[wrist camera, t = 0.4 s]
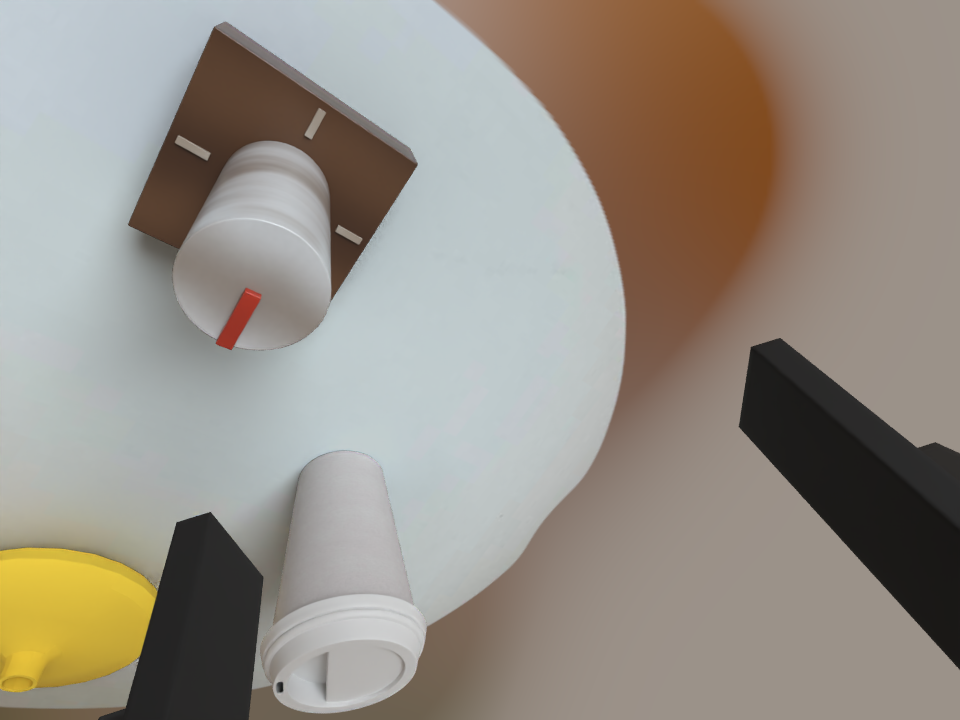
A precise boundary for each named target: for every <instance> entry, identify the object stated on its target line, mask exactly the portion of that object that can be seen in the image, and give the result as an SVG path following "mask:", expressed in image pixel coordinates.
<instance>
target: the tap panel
mask: <svg viewBox="0 0 960 720" xmlns="http://www.w3.org/2000/svg"><path fill="white" fill-rule="evenodd" d="M259 141H277V142H282V143H286V144H289V145H291V146H294V147H296V148H297V149H299V150H301V151H303V152H304V153H305V154H307V155H308V156H309V157H310V158H311V159H313V161H314V162H315V163H316V164H317V165H318V166H319V168H320V169H321V171H322V172H323V174H324V176H325V178H326V181H327V183H328V187H329V192H330V232H331V299H330V302H331V300H332V299H333V297H334V295H335V294H336V292H337V291H338V289H339V288H340V286H341V284H342V283H343V281H344V280H345V278H346V277H347V275H348V273H349V272H350V270H351V269H352V267H353V266H354V264H355V262H356V261H357V259H358V258H359V256H360V255H361V253H362V252H363V250H364V248H365V247H366V245H367V244H368V242H369V241H370V239H371V237H372V236H373V234H374V233H375V231H376V230H377V228H378V226H379V225H380V223H381V222H382V220H383V219H384V217H385V215H386V214H387V212H388V211H389V209H390V208H391V206H392V204H393V203H394V201H395V200H396V198H397V197H398V195H399V194H400V192H401V190H402V189H403V187H404V186H405V184H406V183H407V181H408V179H409V178H410V176H411V175H412V173H413V172H414V170H415V168H416V167H417V165H418V163H417V161H416V159H415V157H414V155H413V153H412V151H411V149H410V148H409V147H407V146H406V145H404V144H403V143H401V142H400V141H398V140H397V139H396V138H394V137H393V136H391V135H390V134H388V133H387V132H385V131H384V130H383V129H381V128H380V127H378V126H377V125H375V124H374V123H372V122H371V121H369V120H368V119H367V118H365V117H364V116H362V115H361V114H359V113H358V112H356V111H355V110H354V109H352V108H351V107H349V106H348V105H346V104H345V103H343V102H342V101H340V100H339V99H338V98H336V97H335V96H333V95H332V94H330V93H329V92H327V91H326V90H325V89H323V88H322V87H320V86H319V85H317V84H316V83H314V82H313V81H311V80H310V79H309V78H307V77H306V76H304V75H303V74H301V73H300V72H298V71H297V70H296V69H294V68H293V67H291V66H290V65H288V64H287V63H285V62H284V61H282V60H281V59H280V58H278V57H277V56H275V55H274V54H272V53H271V52H269V51H268V50H267V49H265V48H264V47H262V46H261V45H259V44H258V43H256V42H255V41H253V40H252V39H251V38H249V37H248V36H246V35H245V34H243V33H242V32H240V31H239V30H238V29H236V28H235V27H233V26H232V25H230V24H229V23H227V22H223V23H221V24H219V25H217V26H215V27H214V28H213V30H212V33H211V35H210V37H209V40H208V42H207V44H206V46H205V49H204V51H203V53H202V56H201V58H200V60H199V62H198V65H197V67H196V69H195V72H194V74H193V76H192V79H191V81H190V83H189V85H188V88H187V90H186V92H185V95H184V97H183V99H182V101H181V104H180V106H179V108H178V111H177V113H176V115H175V118H174V120H173V122H172V124H171V127H170V129H169V131H168V134H167V136H166V138H165V140H164V143H163V145H162V147H161V150H160V152H159V154H158V157H157V159H156V161H155V163H154V166H153V168H152V170H151V173H150V175H149V177H148V179H147V182H146V184H145V186H144V189H143V191H142V193H141V196H140V198H139V200H138V202H137V205H136V207H135V209H134V212H133V214H132V216H131V218H130V221H129V223H128V225H129V226H130V227H133V228H135V229H137V230H139V231H141V232H143V233H146V234H148V235H150V236H152V237H154V238H156V239H159V240H161V241H163V242H165V243H167V244H169V245H171V246H174V247H176V248H178V249H180V247H181V246H182V244H183V242H184V240H185V238H186V236H187V234H188V233H189V231H190V229H191V227H192V225H193V223H194V221H195V220H196V218H197V216H198V214H199V212H200V210H201V208H202V207H203V205H204V203H205V201H206V199H207V197H208V196H209V194H210V192H211V190H212V188H213V186H214V184H215V183H216V181H217V179H218V177H219V175H220V173H221V171H222V170H223V168H224V166H225V164H226V162H227V161H228V159H229V158H230V157H231V156H232V155H233V154H234V153H235V152H236V151H237V150H239V149H240V148H242V147H244V146H246V145H248V144H251V143H254V142H259Z"/></svg>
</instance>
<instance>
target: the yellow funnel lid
mask: <svg viewBox="0 0 960 720" xmlns="http://www.w3.org/2000/svg"><path fill="white" fill-rule="evenodd" d="M156 596H157V590H156V588H155V587H154V586H153V585H152V584H151V583H150V582H149V581H148V580H147V579H146V578H145V577H144V576H143V575H141V574H140V573H138V572H136V571H134V570H132V569H131V568H129V567H127V566H125V565H124V564H122V563H119V562H116V561H113V560H110V559H107V558H104V557H101V556H98V555H95V554H91V553H85V552H79V551H73V550H67V549H58V548H20V549H11V550H2V551H0V689H2V690H5V691H9V692H23V691H28V690H31V689H33V688H41V687H58V686H64V685H70V684H76V683H82V682H86V681H90V680H93V679H96V678H99V677H103V676H106V675H109V674H111V673H113V672H115V671H117V670H119V669H121V668H123V667H125V666H127V665H129V664H130V663H132V662H133V661H134V660H135V659H137V658H138V657H139V656H140V654H141V651H142V647H143V643H144V640H145V636H146V632H147V629H148V625H149V621H150V618H151V614H152V610H153V607H154V603H155V599H156Z"/></svg>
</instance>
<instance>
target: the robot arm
mask: <svg viewBox="0 0 960 720" xmlns="http://www.w3.org/2000/svg"><path fill="white" fill-rule="evenodd" d="M739 427H740V429H741V430H742V431H743V432H744V433H745V434H746V435H747V436H748V437H749V438H750V440H751V441H752V442H753V443H754V444H755V445H756V446H757V447H758V448H759V450H761V452H762V453H763V454H764V455H765V456H766V457H767V458H768V459H769V460H770V462H771V463H772V464H773V465H774V466H775V467H776V468H777V469H778V470H779V472H781V474H782V475H783V476H784V477H785V478H786V479H787V480H788V481H789V483H790V484H791V485H792V486H793V487H794V488H795V489H796V490H797V491H798V492H799V494H800V495H801V496H802V497H803V498H804V499H805V500H806V501H807V502H808V503H809V504H810V506H811V507H812V508H813V509H814V510H815V511H816V512H817V513H818V514H819V515H820V517H821V518H822V519H823V520H824V521H825V522H826V523H827V524H828V525H829V526H830V527H831V529H832V530H833V531H834V532H835V533H836V534H837V535H838V536H839V537H840V538H841V540H842V541H843V542H844V543H845V544H846V545H847V546H848V547H849V548H850V550H851V551H852V552H853V553H854V554H855V555H856V556H857V557H858V558H859V559H860V561H861V562H862V563H863V564H864V565H865V566H866V567H867V568H868V569H869V570H870V572H871V573H872V574H873V575H874V576H875V577H876V578H877V579H878V580H879V581H880V582H881V584H882V585H883V586H884V587H885V588H886V589H887V590H888V591H889V592H890V593H891V594H892V596H893V597H894V598H895V599H896V600H897V601H898V602H899V603H900V604H901V605H902V607H903V608H904V609H905V610H906V611H907V612H908V613H909V614H910V615H911V617H912V618H913V619H914V620H915V621H916V622H917V623H918V624H919V625H920V626H921V627H922V629H923V630H924V631H925V632H926V633H927V634H928V635H929V636H930V637H931V639H932V640H933V641H934V642H935V643H936V644H937V645H938V646H939V647H940V648H941V649H942V651H943V652H944V653H945V654H946V655H947V656H948V657H949V658H950V659H951V660H952V662H953V663H954V664H955V665H956V666H957V667H958V668H959V669H960V453H958V452H955V451H953V450H951V449H949V448H947V447H944V446H942V445H940V444H938V443H936V442H935V443H932V444H929V445H926V446H923V447H919V448H917V447H915V446H914V445H913V444H912V443H910V442H909V441H908V440H907V439H905V438H904V437H903V436H902V435H900V434H899V433H898V432H897V431H895V430H894V429H893V428H892V427H890V426H889V425H888V424H887V423H885V422H884V421H883V420H881V419H880V418H879V417H878V416H877V415H875V414H874V413H873V412H872V411H871V410H869V409H868V408H867V407H866V406H864V405H863V404H862V403H860V402H859V401H858V400H857V399H855V398H854V397H853V396H852V395H850V394H849V393H848V392H847V391H846V390H844V389H843V388H842V387H841V386H839V385H838V384H837V383H836V382H834V381H833V380H832V379H831V378H829V377H828V376H827V375H826V374H824V373H823V372H822V371H821V370H819V369H818V368H817V367H816V366H814V365H813V364H812V363H811V362H809V361H808V360H807V359H806V358H804V357H803V356H802V355H801V354H800V353H798V352H797V351H796V350H794V349H793V348H792V347H791V346H790V345H788V344H787V343H786V342H784V341H783V340H782V339H781V338H779V339H775V340H772V341H769V342H766V343H762V344H759V345H756V346H753V347H751V350H750V357H749V364H748V370H747V377H746V383H745V390H744V396H743V403H742V410H741V417H740V423H739ZM262 586H263V576H262V575H261V574H260V572H259V571H258V570H257V569H256V567H255V566H254V565H253V564H252V562H251V561H250V560H249V559H248V557H247V556H246V555H245V554H244V553H243V551H242V550H241V549H240V548H239V546H238V545H237V544H236V543H235V541H234V540H233V539H232V538H231V536H230V535H229V534H228V533H227V532H226V530H225V529H224V528H223V527H222V525H221V524H220V523H219V522H218V520H217V519H216V518H215V517H214V516H213V514H212V513H211V512H209V513H206V514H202V515H199V516H196V517H193V518H189V519H186V520H183V521H180V522H177V523H176V526H175V530H174V534H173V537H172V541H171V545H170V548H169V552H168V556H167V559H166V563H165V567H164V570H163V574H162V578H161V581H160V585H159V589H158V592H157V596H156V599H155V603H154V607H153V610H152V614H151V618H150V621H149V625H148V629H147V632H146V636H145V640H144V643H143V647H142V651H141V654H140V658H139V662H138V665H137V669H136V672H135V676H134V680H133V683H132V687H131V691H130V694H129V698H128V702H127V705H126V709H123V710H120V711H117V712H114V713H111V714H107V715H104V716H101V717H100V718H99V719H98V720H248V719H249V710H250V700H251V691H252V681H253V672H254V662H255V653H256V643H257V634H258V624H259V615H260V605H261V596H262Z"/></svg>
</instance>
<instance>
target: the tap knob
mask: <svg viewBox="0 0 960 720" xmlns="http://www.w3.org/2000/svg"><path fill="white" fill-rule="evenodd" d="M172 282H173V289H174V292H175V296H176V298H177V300H178V303H179V305H180V307H181V308H182V310H183V311H184V313H185V314H186V316H187V317H188V318H189V319H190V320H191V322H192V323H194V324H195V325H196V326H197V327H198V328H199V329H200V330H202V331H203V332H204V333H206V334H207V335H209V336H211V337H212V338H214V339H216V340H217V341H216V344H217V345H219V346H222V347H224V348H227V349H229V350H232V348H233V347H238V348H242V349H249V350H272V349H278V348H282V347H286V346H289V345H292V344H294V343H296V342H298V341H300V340H302V339H304V338H305V337H307V336H308V335H309V334H310V333H312V332H313V331H314V330H315V329H316V328H317V327H318V326H319V324H320V323H321V322H322V320H323V319H324V317H325V315H326V313H327V310H328V308H329V305H330V299H331V232H330V192H329V187H328V183H327V181H326V178H325V176H324V174H323V172H322V171H321V169H320V168H319V166H318V165H317V164H316V163H315V162H314V161H313V159H311V158H310V157H309V156H308V155H307V154H305V153H304V152H303V151H301V150H299V149H297V148H296V147H294V146H291V145H289V144H286V143H282V142H277V141H259V142H254V143H251V144H248V145H246V146H244V147H242V148H240V149H239V150H237V151H236V152H235V153H234V154H233V155H232V156H231V157H230V158H229V159H228V161H227V162H226V164H225V166H224V168H223V170H222V171H221V173H220V175H219V177H218V179H217V181H216V183H215V184H214V186H213V188H212V190H211V192H210V194H209V196H208V197H207V199H206V201H205V203H204V205H203V207H202V208H201V210H200V212H199V214H198V216H197V218H196V220H195V221H194V223H193V225H192V227H191V229H190V231H189V233H188V234H187V236H186V238H185V240H184V242H183V244H182V246H181V247H180V249H179V251H178V253H177V256H176V258H175V261H174V265H173V270H172Z"/></svg>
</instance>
